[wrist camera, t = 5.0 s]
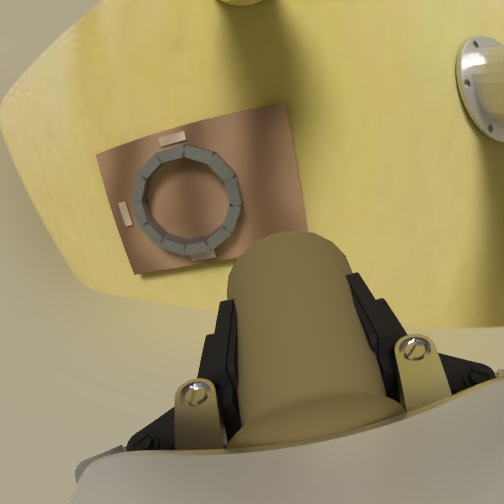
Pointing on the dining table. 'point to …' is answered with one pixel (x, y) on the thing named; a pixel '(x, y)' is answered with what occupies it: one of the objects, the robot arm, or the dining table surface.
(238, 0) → the beer glass
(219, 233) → the hub ring
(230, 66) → the dining table surface
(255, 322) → the cork
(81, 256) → the dining table surface
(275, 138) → the board
